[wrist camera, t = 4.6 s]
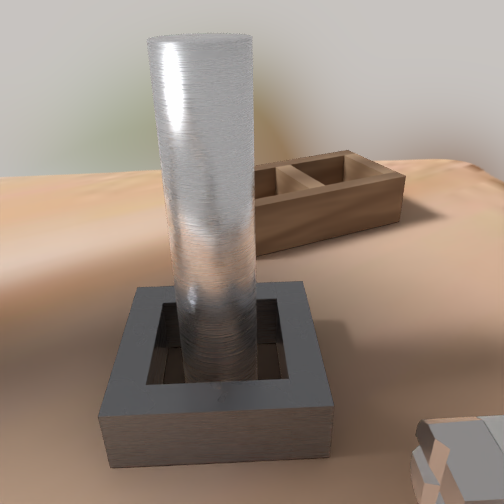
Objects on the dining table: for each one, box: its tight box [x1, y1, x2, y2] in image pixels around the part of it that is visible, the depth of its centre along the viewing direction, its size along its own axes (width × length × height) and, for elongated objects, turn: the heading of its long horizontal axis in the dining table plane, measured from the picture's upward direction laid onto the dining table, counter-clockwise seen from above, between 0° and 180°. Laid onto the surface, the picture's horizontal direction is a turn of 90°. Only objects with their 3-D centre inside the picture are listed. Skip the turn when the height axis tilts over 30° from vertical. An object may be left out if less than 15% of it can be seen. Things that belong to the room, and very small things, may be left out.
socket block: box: [98, 281, 334, 468], centre depth 24 cm, size 9×9×3 cm
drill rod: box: [147, 33, 258, 383], centre depth 20 cm, size 4×4×16 cm
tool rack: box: [254, 150, 406, 256], centre depth 40 cm, size 8×15×4 cm, turn 115°
